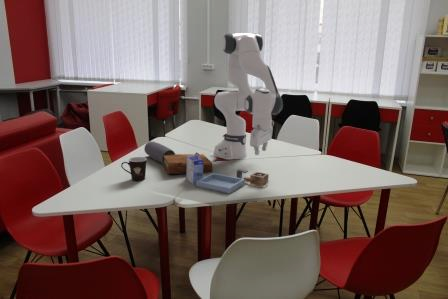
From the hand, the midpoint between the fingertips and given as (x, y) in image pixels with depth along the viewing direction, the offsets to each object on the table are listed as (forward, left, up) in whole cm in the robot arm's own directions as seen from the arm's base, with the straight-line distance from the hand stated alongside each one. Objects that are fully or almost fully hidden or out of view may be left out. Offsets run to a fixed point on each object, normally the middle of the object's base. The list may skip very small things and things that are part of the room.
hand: (260, 152), depth 181 cm
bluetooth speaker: (-64, +2, -16) cm, 66 cm away
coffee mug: (-55, -27, -16) cm, 63 cm away
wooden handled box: (0, 0, -16) cm, 16 cm away
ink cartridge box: (-28, -14, -16) cm, 36 cm away
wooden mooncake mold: (0, 0, -15) cm, 15 cm away
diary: (-42, -2, -15) cm, 45 cm away
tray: (-14, -13, -16) cm, 25 cm away
